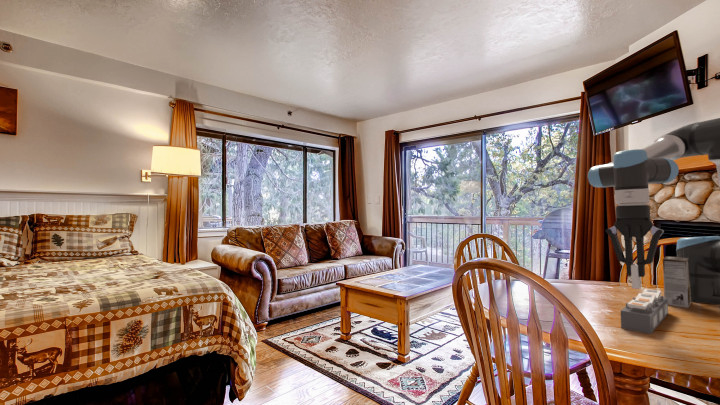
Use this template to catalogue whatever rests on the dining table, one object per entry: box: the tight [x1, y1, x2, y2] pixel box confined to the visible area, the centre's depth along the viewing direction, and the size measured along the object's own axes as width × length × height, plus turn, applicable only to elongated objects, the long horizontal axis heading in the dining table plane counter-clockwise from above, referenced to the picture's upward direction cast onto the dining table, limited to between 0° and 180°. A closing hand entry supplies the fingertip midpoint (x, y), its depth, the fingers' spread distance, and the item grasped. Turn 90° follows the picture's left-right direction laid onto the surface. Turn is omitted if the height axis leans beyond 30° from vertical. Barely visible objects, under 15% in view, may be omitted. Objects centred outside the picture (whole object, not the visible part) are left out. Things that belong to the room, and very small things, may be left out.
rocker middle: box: [635, 292, 656, 306], centre depth 101 cm, size 6×4×1 cm, turn 130°
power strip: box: [620, 295, 669, 335], centre depth 101 cm, size 27×7×6 cm, turn 130°
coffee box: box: [662, 255, 692, 309], centre depth 118 cm, size 9×6×16 cm
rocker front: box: [627, 299, 650, 310], centre depth 96 cm, size 6×4×1 cm, turn 130°
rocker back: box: [642, 288, 662, 300], centre depth 107 cm, size 6×4×1 cm, turn 130°
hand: (636, 287), depth 94 cm, fingers closed
